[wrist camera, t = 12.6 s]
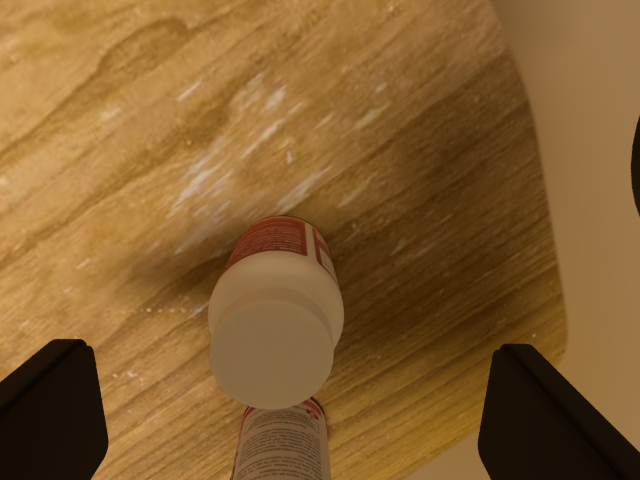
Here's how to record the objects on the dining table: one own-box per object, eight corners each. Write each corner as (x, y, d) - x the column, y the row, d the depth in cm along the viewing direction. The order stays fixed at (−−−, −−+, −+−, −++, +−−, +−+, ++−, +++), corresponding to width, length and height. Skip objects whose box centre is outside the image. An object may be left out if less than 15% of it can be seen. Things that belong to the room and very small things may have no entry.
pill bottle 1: (218, 276, 19) (156, 387, 11) (263, 195, 18) (233, 250, 10) (300, 318, 20) (301, 450, 12) (348, 244, 19) (385, 330, 11)
